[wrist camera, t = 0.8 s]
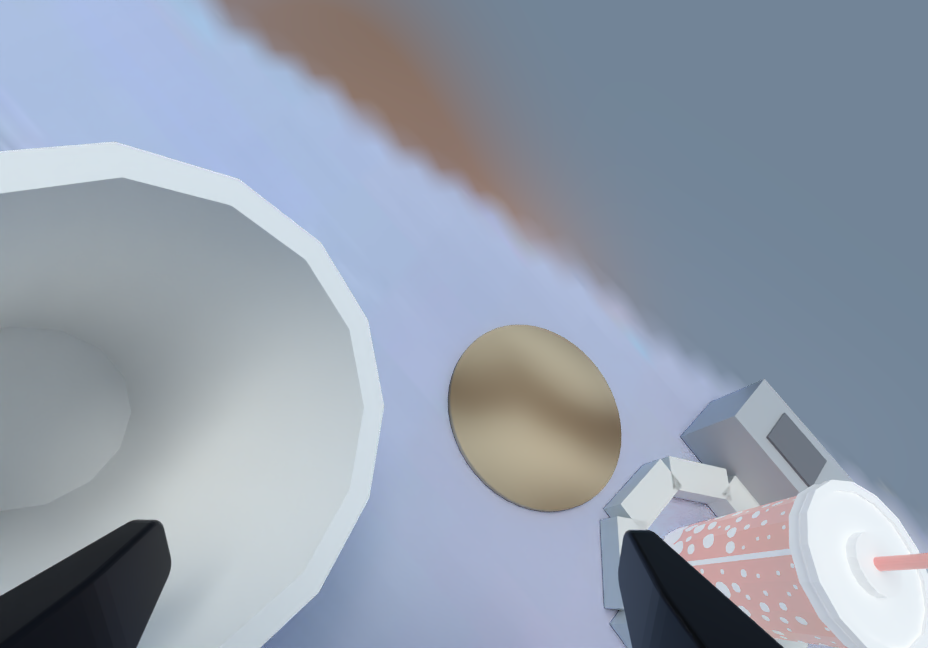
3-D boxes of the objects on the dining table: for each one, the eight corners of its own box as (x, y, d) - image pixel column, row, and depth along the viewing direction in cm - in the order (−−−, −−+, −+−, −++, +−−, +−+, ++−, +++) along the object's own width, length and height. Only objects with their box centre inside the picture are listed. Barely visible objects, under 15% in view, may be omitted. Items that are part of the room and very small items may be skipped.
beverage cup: (748, 658, 25) (1176, 702, 14) (644, 632, 24) (1022, 657, 12) (735, 528, 28) (1070, 476, 17) (643, 499, 27) (940, 422, 16)
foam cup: (193, 498, 21) (411, 554, 12) (-163, 635, 14) (-212, 978, 5) (147, 269, 21) (339, 167, 12) (-241, 289, 13) (-423, 78, 5)
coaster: (636, 505, 27) (641, 504, 26) (459, 518, 23) (462, 517, 23) (593, 333, 31) (597, 330, 31) (439, 321, 27) (441, 318, 27)
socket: (776, 852, 21) (878, 899, 18) (560, 556, 24) (614, 548, 21) (873, 595, 30) (954, 594, 26) (705, 395, 32) (760, 370, 29)
